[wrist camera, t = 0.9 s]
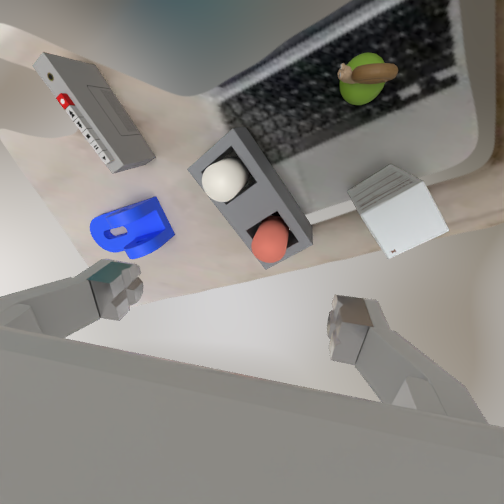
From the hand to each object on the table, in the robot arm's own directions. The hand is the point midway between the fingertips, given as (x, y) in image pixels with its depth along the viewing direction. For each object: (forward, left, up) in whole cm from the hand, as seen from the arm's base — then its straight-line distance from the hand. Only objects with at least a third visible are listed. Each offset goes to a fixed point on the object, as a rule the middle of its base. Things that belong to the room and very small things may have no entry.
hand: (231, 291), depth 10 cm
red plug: (+7, +7, -30) cm, 31 cm away
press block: (+7, +1, -35) cm, 36 cm away
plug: (+7, -4, -30) cm, 31 cm away
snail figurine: (-13, -4, -35) cm, 37 cm away
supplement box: (-9, +12, -35) cm, 38 cm away
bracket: (+34, -9, -35) cm, 50 cm away
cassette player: (+19, -23, -35) cm, 46 cm away
